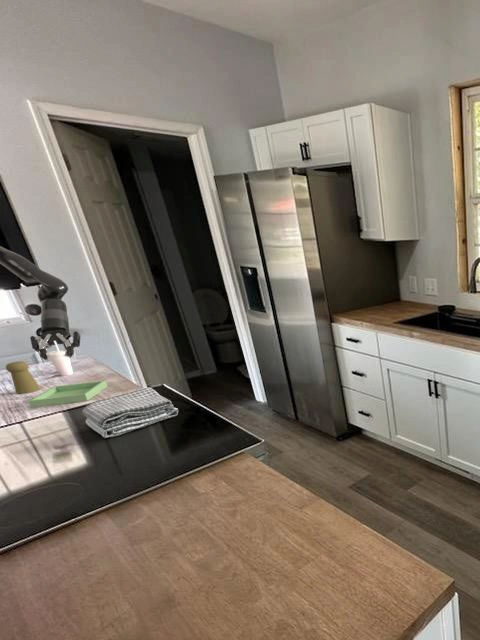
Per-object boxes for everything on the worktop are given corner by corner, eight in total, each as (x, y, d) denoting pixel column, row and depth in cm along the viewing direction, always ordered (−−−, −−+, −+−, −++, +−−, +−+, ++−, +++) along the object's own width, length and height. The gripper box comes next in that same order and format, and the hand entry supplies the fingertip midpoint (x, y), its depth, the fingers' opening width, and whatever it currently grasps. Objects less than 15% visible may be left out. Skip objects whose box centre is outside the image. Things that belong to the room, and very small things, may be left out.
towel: (86, 429, 120) (75, 404, 117) (161, 406, 135) (153, 384, 132) (105, 441, 113) (94, 416, 110) (182, 416, 127) (174, 393, 124)
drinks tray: (31, 407, 135) (27, 401, 134) (56, 392, 148) (53, 386, 147) (87, 400, 140) (85, 394, 140) (107, 386, 153) (105, 380, 152)
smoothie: (75, 375, 166) (61, 341, 161) (53, 378, 162) (38, 344, 157) (79, 370, 171) (66, 338, 166) (58, 373, 167) (43, 340, 162)
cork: (30, 387, 153) (16, 359, 149) (45, 387, 153) (32, 359, 149) (11, 394, 147) (-4, 365, 143) (27, 394, 147) (13, 365, 143)
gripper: (83, 325, 174) (86, 358, 169) (35, 330, 167) (37, 365, 162) (74, 315, 168) (77, 349, 163) (24, 319, 161) (25, 355, 156)
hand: (57, 357), depth 162 cm, fingers closed on smoothie, 6 cm apart
